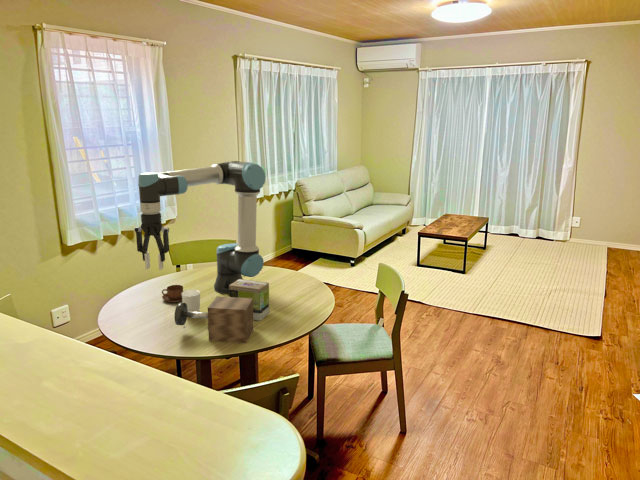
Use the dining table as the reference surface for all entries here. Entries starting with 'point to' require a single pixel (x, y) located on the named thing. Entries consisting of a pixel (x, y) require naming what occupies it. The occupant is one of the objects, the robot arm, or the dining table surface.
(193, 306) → the white cup
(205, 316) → the plunger
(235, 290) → the tea box
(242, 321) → the brown wooden open box
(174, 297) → the cup and saucer
